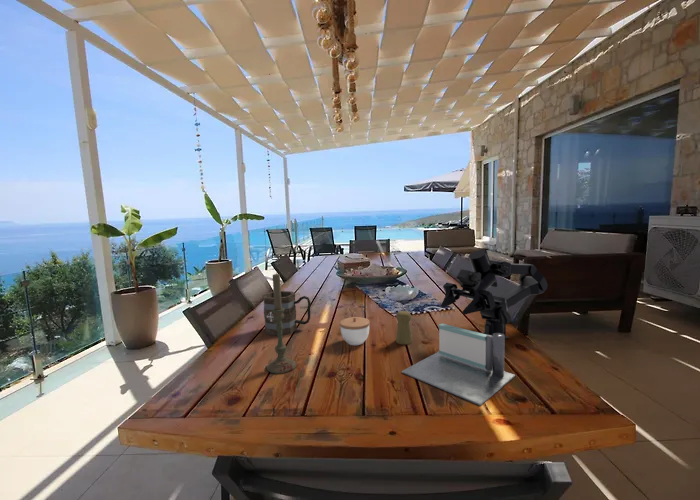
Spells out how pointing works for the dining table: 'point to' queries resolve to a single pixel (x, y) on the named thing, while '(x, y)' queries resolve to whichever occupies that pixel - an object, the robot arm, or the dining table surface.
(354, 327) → the lidded jar
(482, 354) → the gate
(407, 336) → the olive green shaker
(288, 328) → the mug
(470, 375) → the gate post
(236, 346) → the dining table surface
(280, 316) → the candlestick holder
